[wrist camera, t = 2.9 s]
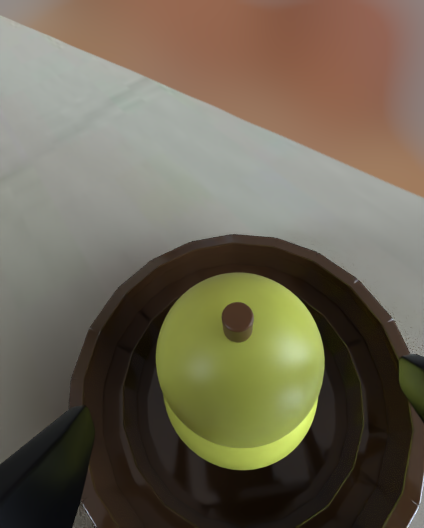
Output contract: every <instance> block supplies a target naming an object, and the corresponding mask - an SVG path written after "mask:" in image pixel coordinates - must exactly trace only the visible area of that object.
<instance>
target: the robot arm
mask: <svg viewBox="0 0 424 528" xmlns="http://www.w3.org/2000/svg"><path fill="white" fill-rule="evenodd" d="M398 381H399V385H400V388H401V390H402V392H403V393H404V395H405V396H406V398H407V399H408V401H409V402H410V404H411V405H412V407H413V408H414V410H415V411H416V413H417V414H418V416H419V417H420V419H421V420H422V422H423V423H424V357H423V356H420V355H417V354H410V355H404V356H401V357H400V358H399V371H398ZM94 440H95V426H94V423H93V420H92V417H91V413H90V410H89V408H88V406H86V405H81V406H75V407H72V408H70V409H69V410H68V411H66V412H65V413H64V414H63V415H61V416H60V417H59V418H58V419H56V420H55V421H54V422H53V423H51V424H50V425H49V426H48V427H46V428H45V429H44V430H43V431H41V432H40V433H39V434H38V435H36V436H35V437H34V438H33V439H31V440H30V441H29V442H28V443H26V444H25V445H24V446H23V447H21V448H20V449H19V450H18V451H16V452H15V453H14V454H13V455H11V456H10V457H9V458H8V459H6V460H5V461H4V462H3V463H1V464H0V528H72V526H73V523H74V519H75V516H76V513H77V510H78V507H79V504H80V500H81V497H82V493H83V489H84V485H85V481H86V476H87V472H88V467H89V463H90V458H91V453H92V449H93V444H94Z"/></svg>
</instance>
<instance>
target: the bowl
mask: <svg viewBox="0 0 424 528" xmlns="http://www.w3.org/2000/svg"><path fill="white" fill-rule="evenodd" d="M226 273H250V274H255V275H259V276H263V277H266V278H268V279H271V280H273V281H275V282H277V283H279V284H281V285H282V286H284V287H285V288H287V289H288V290H290V291H291V292H292V293H293V294H294V295H295V296H297V297H298V298H299V300H300V301H301V302H302V303H303V304H304V305H305V306H306V308H307V309H308V311H309V312H310V314H311V315H312V317H313V319H314V321H315V323H316V325H317V328H318V330H319V333H320V335H321V339H322V343H323V348H324V357H325V362H324V375H323V382H322V386H321V389H320V393H319V396H318V402H317V408H316V412H315V416H314V419H313V422H312V424H311V426H310V428H309V430H308V432H307V434H306V435H305V437H304V438H303V440H302V441H301V442H300V443H299V445H298V446H297V447H296V448H295V449H294V450H293V451H292V452H291V453H289V454H288V455H287V456H286V457H284V458H283V459H281V460H279V461H278V462H276V463H274V464H271V465H269V466H266V467H263V468H258V469H254V470H232V469H227V468H223V467H220V466H217V465H215V464H212V463H210V462H208V461H206V460H204V459H203V458H201V457H199V456H198V455H197V454H196V453H194V452H193V451H192V450H191V449H190V448H189V447H188V446H187V445H186V444H185V443H184V442H183V441H182V440H181V438H180V437H179V435H178V434H177V433H176V431H175V429H174V427H173V425H172V424H171V422H170V419H169V416H168V414H167V411H166V407H165V403H164V397H163V392H162V390H161V387H160V384H159V379H158V375H157V367H156V347H157V341H158V337H159V333H160V330H161V327H162V325H163V322H164V320H165V318H166V316H167V314H168V312H169V311H170V309H171V308H172V306H173V305H174V304H175V302H176V301H177V300H178V299H179V298H180V297H181V296H182V295H183V294H184V293H185V292H186V291H188V290H189V289H190V288H192V287H193V286H195V285H196V284H198V283H199V282H202V281H204V280H206V279H208V278H211V277H214V276H216V275H221V274H226ZM404 355H410V352H409V350H408V348H407V346H406V344H405V342H404V340H403V338H402V336H401V334H400V332H399V329H398V327H397V325H396V323H395V321H394V320H393V318H392V317H391V316H390V315H389V314H388V313H387V311H386V310H385V309H384V308H383V307H382V306H381V305H380V304H379V302H378V301H377V300H376V299H375V298H374V297H373V296H372V294H371V293H370V292H369V291H368V290H367V289H366V288H365V286H364V285H363V284H362V283H361V282H360V281H359V280H358V279H357V278H355V277H354V276H352V275H351V274H349V273H348V272H346V271H345V270H343V269H342V268H340V267H339V266H337V265H336V264H334V263H333V262H332V261H330V260H329V259H327V258H326V257H324V256H323V255H321V254H320V253H317V252H315V251H313V250H310V249H307V248H304V247H301V246H298V245H295V244H292V243H290V242H287V241H284V240H281V239H278V238H274V237H262V236H250V235H237V234H233V235H232V234H230V235H225V236H219V237H213V238H208V239H202V240H197V241H192V242H189V243H187V244H184V245H182V246H180V247H178V248H176V249H174V250H172V251H169V252H167V253H165V254H163V255H161V256H159V257H156V258H154V259H153V260H151V261H149V262H148V263H147V264H146V265H145V266H143V267H142V268H141V269H140V270H139V271H137V272H136V273H135V274H134V275H133V276H131V277H130V278H129V279H128V280H127V281H125V282H124V283H123V284H122V285H121V286H120V287H118V289H117V290H116V291H115V292H114V294H113V295H112V297H111V298H110V299H109V301H108V302H107V304H106V305H105V307H104V308H103V309H102V311H101V312H100V314H99V315H98V316H97V318H96V319H95V321H94V322H93V324H92V325H91V326H90V329H89V330H88V333H87V335H86V338H85V341H84V344H83V346H82V349H81V352H80V355H79V357H78V360H77V363H76V366H75V369H74V371H73V374H72V377H71V383H70V398H69V409H70V408H72V407H75V406H81V405H86V406H88V408H89V410H90V413H91V417H92V420H93V423H94V426H95V440H94V444H93V449H92V453H91V458H90V463H89V467H88V472H87V476H86V481H85V485H84V489H83V493H82V497H81V502H82V505H83V507H84V508H85V510H86V512H87V513H88V515H89V517H90V518H91V520H92V522H93V523H94V525H95V527H96V528H408V527H409V525H410V523H411V521H412V520H413V518H414V516H415V514H416V512H417V511H418V509H419V505H420V504H421V497H422V490H423V484H424V423H423V422H422V420H421V419H420V417H419V416H418V414H417V413H416V411H415V410H414V408H413V407H412V405H411V404H410V402H409V401H408V399H407V398H406V396H405V395H404V393H403V392H402V390H401V388H400V385H399V381H398V371H399V358H400V357H401V356H404Z"/></svg>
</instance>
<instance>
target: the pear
mask: <svg viewBox="0 0 424 528" xmlns="http://www.w3.org/2000/svg"><path fill="white" fill-rule="evenodd" d="M324 362H325V357H324V348H323V343H322V339H321V335H320V333H319V330H318V328H317V325H316V323H315V321H314V319H313V317H312V315H311V314H310V312H309V311H308V309H307V308H306V306H305V305H304V304H303V303H302V302H301V301H300V300H299V298H298V297H297V296H295V295H294V294H293V293H292V292H291V291H290V290H288V289H287V288H285V287H284V286H282V285H281V284H279V283H277V282H275V281H273V280H271V279H268V278H266V277H263V276H259V275H255V274H250V273H226V274H221V275H216V276H214V277H211V278H208V279H206V280H204V281H202V282H199V283H198V284H196V285H195V286H193V287H192V288H190V289H189V290H188V291H186V292H185V293H184V294H183V295H182V296H181V297H180V298H179V299H178V300H177V301H176V302H175V304H174V305H173V306H172V308H171V309H170V311H169V312H168V314H167V316H166V318H165V320H164V322H163V325H162V327H161V330H160V333H159V337H158V341H157V347H156V367H157V375H158V379H159V384H160V387H161V390H162V392H163V397H164V403H165V407H166V411H167V414H168V416H169V419H170V422H171V424H172V425H173V427H174V429H175V431H176V433H177V434H178V435H179V437H180V438H181V440H182V441H183V442H184V443H185V444H186V445H187V446H188V447H189V448H190V449H191V450H192V451H193V452H194V453H196V454H197V455H198V456H199V457H201V458H203V459H204V460H206V461H208V462H210V463H212V464H215V465H217V466H220V467H223V468H227V469H232V470H254V469H258V468H263V467H266V466H269V465H271V464H274V463H276V462H278V461H279V460H281V459H283V458H284V457H286V456H287V455H288V454H289V453H291V452H292V451H293V450H294V449H295V448H296V447H297V446H298V445H299V443H300V442H301V441H302V440H303V438H304V437H305V435H306V434H307V432H308V430H309V428H310V426H311V424H312V422H313V419H314V416H315V412H316V408H317V402H318V396H319V393H320V389H321V386H322V382H323V375H324Z"/></svg>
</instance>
